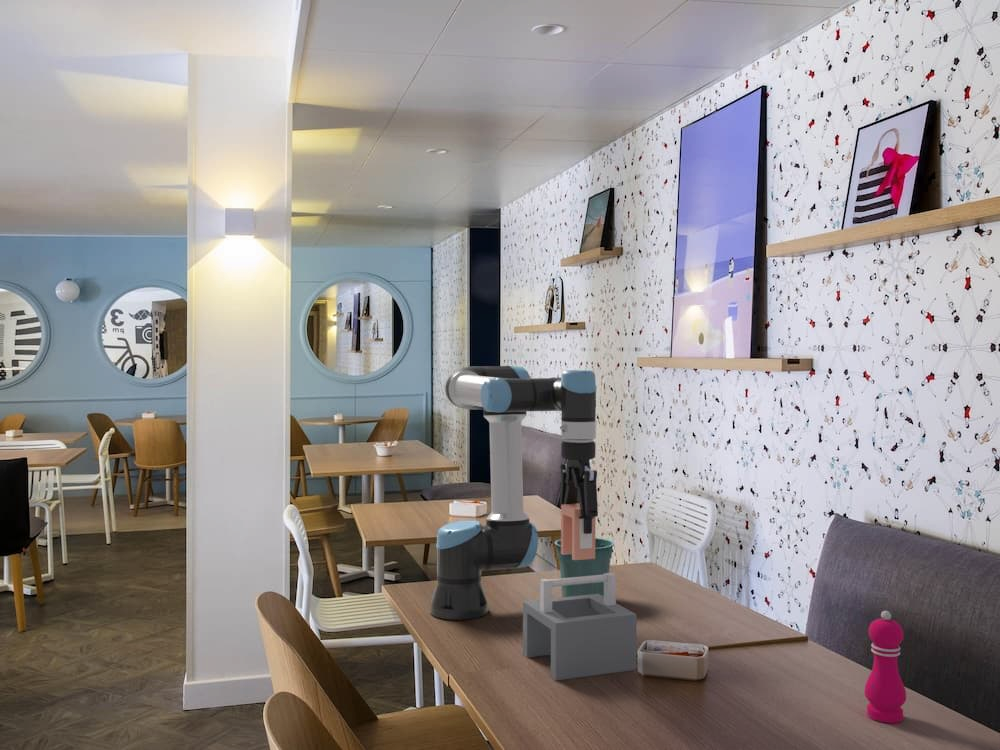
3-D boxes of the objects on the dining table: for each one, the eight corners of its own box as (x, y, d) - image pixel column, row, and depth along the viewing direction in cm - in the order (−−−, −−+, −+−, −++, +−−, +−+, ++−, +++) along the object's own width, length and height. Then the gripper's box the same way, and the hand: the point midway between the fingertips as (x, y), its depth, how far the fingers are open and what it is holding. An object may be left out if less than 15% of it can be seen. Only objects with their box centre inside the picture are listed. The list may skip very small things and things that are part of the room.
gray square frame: (522, 654, 207) (523, 571, 207) (598, 644, 214) (598, 564, 213) (555, 680, 190) (555, 590, 190) (636, 669, 197) (636, 582, 197)
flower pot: (544, 596, 256) (544, 539, 256) (594, 590, 263) (594, 534, 263) (573, 611, 242) (573, 550, 241) (625, 604, 248) (626, 545, 248)
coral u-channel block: (560, 553, 204) (561, 504, 204) (581, 552, 206) (581, 503, 205) (574, 560, 197) (574, 509, 197) (595, 558, 199) (595, 508, 199)
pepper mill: (857, 710, 175) (858, 606, 174) (893, 708, 175) (894, 605, 175) (875, 725, 168) (877, 616, 167) (913, 724, 168) (915, 616, 168)
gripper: (544, 437, 209) (544, 537, 209) (582, 445, 190) (582, 555, 191) (574, 436, 211) (574, 535, 212) (614, 444, 193) (614, 552, 193)
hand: (578, 544), depth 201 cm, fingers closed on coral u-channel block, 7 cm apart
